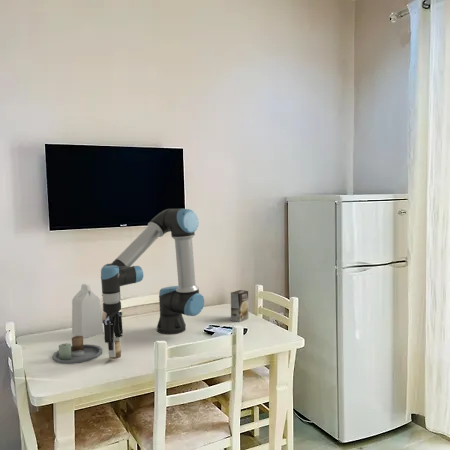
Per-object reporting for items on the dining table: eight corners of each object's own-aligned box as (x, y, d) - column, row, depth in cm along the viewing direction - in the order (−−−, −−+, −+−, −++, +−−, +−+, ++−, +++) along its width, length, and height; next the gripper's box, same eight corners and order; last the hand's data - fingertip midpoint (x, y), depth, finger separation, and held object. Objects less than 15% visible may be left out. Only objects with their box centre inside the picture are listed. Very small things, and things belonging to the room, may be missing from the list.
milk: (103, 333, 224) (101, 284, 222) (82, 339, 216) (80, 288, 214) (92, 328, 232) (90, 281, 231) (72, 334, 224) (69, 285, 223)
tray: (110, 348, 200) (110, 345, 200) (87, 366, 180) (87, 362, 180) (69, 346, 205) (69, 343, 204) (42, 363, 184) (42, 360, 184)
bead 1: (73, 356, 190) (73, 343, 189) (67, 361, 185) (66, 347, 184) (63, 356, 191) (62, 342, 190) (56, 360, 186) (56, 346, 185)
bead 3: (122, 354, 188) (122, 341, 187) (117, 359, 183) (117, 345, 182) (112, 354, 189) (111, 340, 188) (107, 358, 184) (106, 344, 183)
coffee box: (240, 322, 239) (239, 293, 238) (230, 320, 242) (230, 292, 241) (249, 318, 246) (248, 290, 245) (239, 316, 250) (239, 289, 249)
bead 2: (83, 351, 196) (83, 338, 196) (72, 352, 195) (71, 339, 194) (83, 347, 201) (82, 335, 201) (72, 349, 199) (71, 336, 199)
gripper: (113, 296, 193) (116, 346, 195) (93, 307, 176) (97, 362, 178) (128, 296, 192) (131, 346, 194) (110, 307, 174) (113, 362, 176)
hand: (115, 354), depth 186 cm, fingers closed on bead 3, 5 cm apart
